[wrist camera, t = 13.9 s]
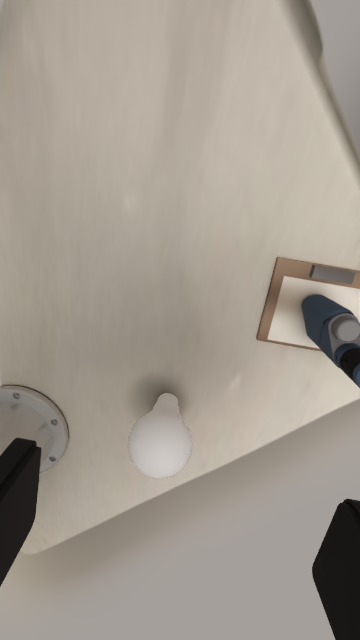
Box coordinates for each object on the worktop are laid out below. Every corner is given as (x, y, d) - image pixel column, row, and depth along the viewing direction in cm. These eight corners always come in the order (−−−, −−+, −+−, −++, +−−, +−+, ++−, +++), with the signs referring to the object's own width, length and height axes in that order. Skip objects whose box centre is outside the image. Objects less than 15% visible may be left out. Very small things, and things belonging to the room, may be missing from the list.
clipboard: (354, 355, 34) (360, 360, 33) (256, 338, 34) (258, 342, 33) (383, 275, 32) (391, 277, 30) (277, 257, 32) (280, 258, 30)
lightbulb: (160, 428, 39) (146, 504, 28) (133, 390, 37) (107, 455, 27) (203, 406, 37) (204, 477, 27) (175, 367, 36) (166, 425, 25)
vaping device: (306, 342, 33) (362, 403, 22) (298, 296, 32) (353, 335, 20) (331, 336, 33) (401, 395, 22) (323, 289, 32) (394, 326, 20)
